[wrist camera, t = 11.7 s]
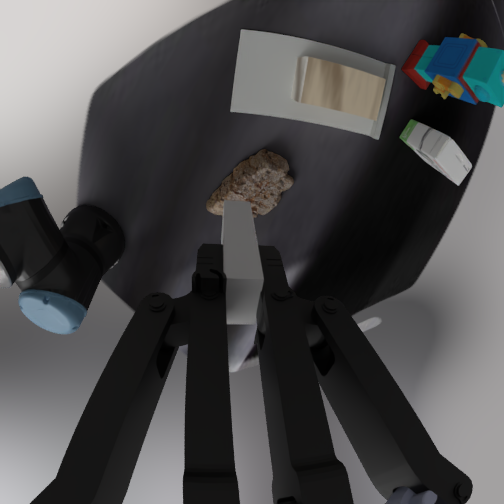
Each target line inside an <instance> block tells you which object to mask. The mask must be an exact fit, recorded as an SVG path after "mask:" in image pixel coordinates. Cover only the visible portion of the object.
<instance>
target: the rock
mask: <svg viewBox="0 0 504 504" xmlns="http://www.w3.org/2000/svg"><path fill="white" fill-rule="evenodd" d="M288 170H289V166H288V163H287V160H286V159H284V158H283V157H281V156H280V155H278V154H274V153H273V152H269V151H268V150H265V149H262V150H260V151H259V152H258V153H257V154H256V155H254V156H250V158H249V159H248V160H244V161H242V162H241V163H240V164H239V165H238V166H237V167H236V168H234V170H233V173H231V174H230V175H229V176H227V177H226V178H225V179H224V180H223V181H222V184H221V186H220V187H219V188H218V189H216V190H215V191H214V193H213V194H212V196H211V197H210V199H209V200H208V201H207V203H206V206H207V209H208V211H210V212H212V213H214V214H215V215H222V216H223V207H224V200H228V201H245V202H250V204H251V209H252V215H253V218H254V217H258V216H257V215H258V214H260V215H265V214H267V213H268V212H269V211H271V210H272V209H273V208H274V207H275V206H277V204H278V203H279V201H280V199H281V192H283V191H285V190H287V189H290V187H291V186H292V185H293V184H294V180H293V178H292V177H291V176H289V175H288V174H287V172H288Z"/></svg>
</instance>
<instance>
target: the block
mask: <svg viewBox="0 0 504 504" xmlns="http://www.w3.org/2000/svg"><path fill="white" fill-rule="evenodd" d="M385 81H386V79H384V78H381V77H378V76H375V75H372V74H370V73H367V72H363V71H360V70H357V69H354V68H351V67H347V66H344V65H340V64H337V63H333V62H329V61H325V60H321V59H317V58H312V57H308V56H305V57H299V58H297V63H296V69H295V75H294V81H293V87H292V93H291V99H293V100H295V101H297V102H299V103H304V104H309V105H314V106H319V107H324V108H328V109H333V110H337V111H341V112H345V113H349V114H353V115H357V116H361V117H364V118H368V119H371V120H375V121H377V116H378V112H379V108H380V104H381V99H382V95H383V90H384V85H385Z"/></svg>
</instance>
